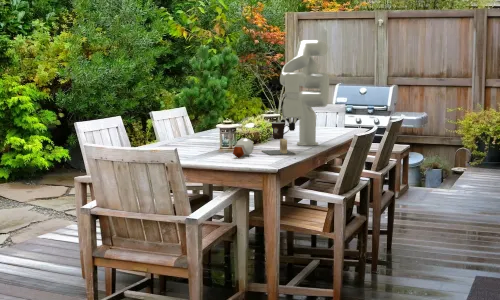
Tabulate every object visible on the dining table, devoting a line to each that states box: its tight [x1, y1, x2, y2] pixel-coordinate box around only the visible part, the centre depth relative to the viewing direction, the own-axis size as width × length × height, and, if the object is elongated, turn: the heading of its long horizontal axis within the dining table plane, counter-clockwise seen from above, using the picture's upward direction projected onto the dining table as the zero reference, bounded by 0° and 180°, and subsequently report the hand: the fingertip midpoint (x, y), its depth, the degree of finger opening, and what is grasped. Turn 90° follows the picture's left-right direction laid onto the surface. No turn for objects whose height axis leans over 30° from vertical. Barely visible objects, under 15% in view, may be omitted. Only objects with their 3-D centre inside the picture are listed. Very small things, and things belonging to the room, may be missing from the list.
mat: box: [261, 149, 296, 156], centre depth 382 cm, size 16×14×1 cm
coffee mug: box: [270, 121, 290, 140], centre depth 448 cm, size 12×9×10 cm
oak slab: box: [279, 138, 288, 153], centre depth 378 cm, size 7×2×6 cm
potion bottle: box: [232, 137, 255, 159], centre depth 369 cm, size 9×10×15 cm
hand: (291, 130), depth 381 cm, fingers closed
